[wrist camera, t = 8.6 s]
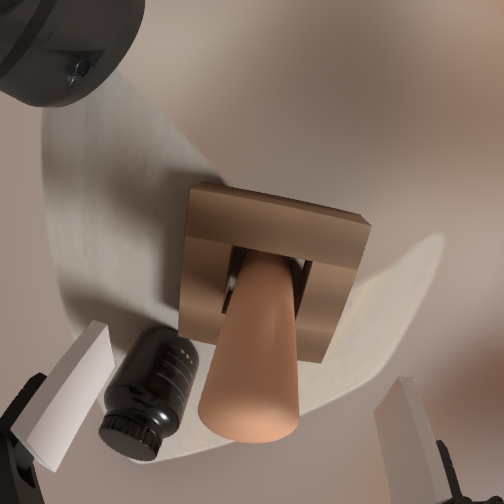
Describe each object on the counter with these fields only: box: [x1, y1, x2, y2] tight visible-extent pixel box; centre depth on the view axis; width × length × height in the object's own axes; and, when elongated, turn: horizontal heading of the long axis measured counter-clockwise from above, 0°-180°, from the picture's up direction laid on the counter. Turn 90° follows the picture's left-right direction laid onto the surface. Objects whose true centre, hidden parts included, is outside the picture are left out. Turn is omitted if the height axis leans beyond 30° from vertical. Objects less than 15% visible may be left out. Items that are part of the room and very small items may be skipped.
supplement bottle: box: [99, 327, 199, 461], centre depth 22 cm, size 7×7×12 cm
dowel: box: [198, 249, 299, 443], centre depth 16 cm, size 4×4×14 cm
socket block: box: [178, 182, 371, 363], centre depth 22 cm, size 12×12×3 cm
